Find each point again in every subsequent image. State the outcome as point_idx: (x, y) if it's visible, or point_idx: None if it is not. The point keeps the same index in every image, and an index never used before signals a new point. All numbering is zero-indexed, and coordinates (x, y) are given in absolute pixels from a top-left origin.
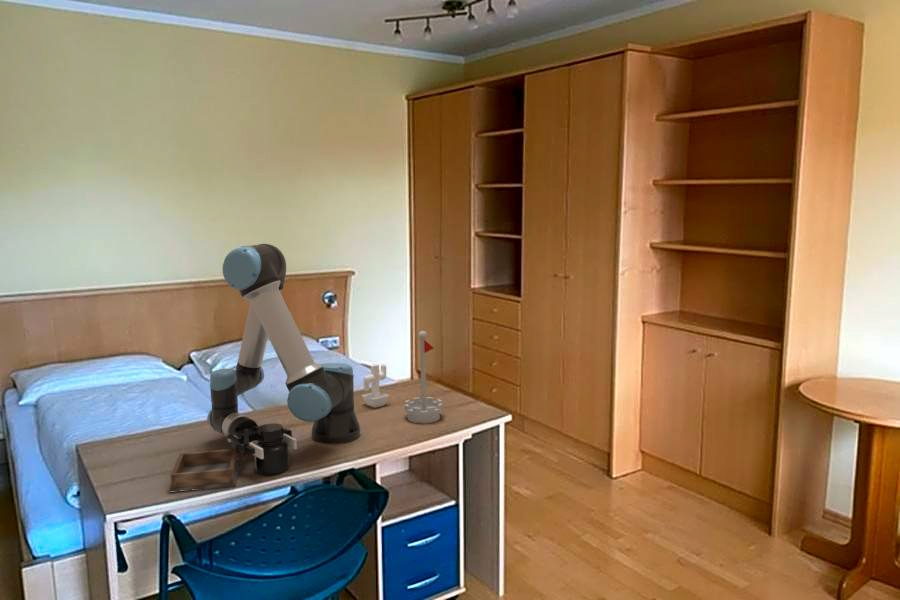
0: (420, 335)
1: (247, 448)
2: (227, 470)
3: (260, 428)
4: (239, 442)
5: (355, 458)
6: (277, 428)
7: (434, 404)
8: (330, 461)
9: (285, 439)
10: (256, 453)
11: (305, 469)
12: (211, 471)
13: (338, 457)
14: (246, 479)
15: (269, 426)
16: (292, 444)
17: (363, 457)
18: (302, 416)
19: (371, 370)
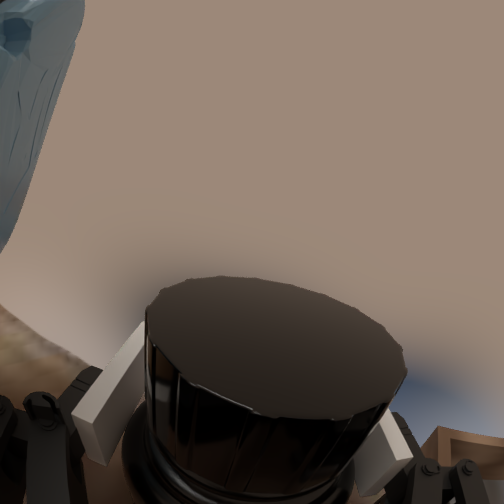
0: None
1: (413, 443)
2: (451, 430)
3: (376, 355)
4: (466, 500)
5: (22, 326)
6: (245, 287)
7: None
8: (49, 368)
9: (117, 409)
10: None
11: (137, 406)
12: (492, 437)
13: (16, 358)
14: (357, 490)
15: (273, 337)
16: None
17: (15, 316)
18: (1, 225)
19: None
